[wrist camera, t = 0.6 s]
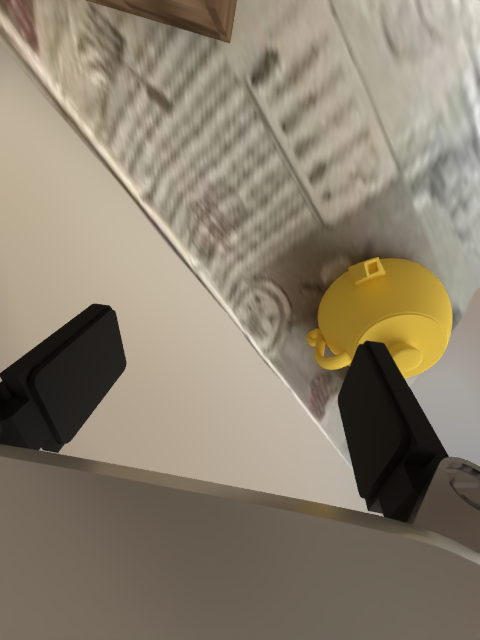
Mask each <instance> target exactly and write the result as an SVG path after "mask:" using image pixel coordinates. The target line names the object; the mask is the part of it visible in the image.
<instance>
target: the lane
mask: <svg viewBox="0 0 480 640" xmlns="http://www.w3.org/2000/svg"><path fill="white" fill-rule="evenodd" d="M87 1H91V2H94V3H97V4H101V5H104V6H107V7H111V8H114V9H117V10H121V11H124V12H127V13H131V14H134V15H137V16H141V17H144V18H147V19H151V20H154V21H157V22H161V23H164V24H168V25H171V26H174V27H178V28H181V29H184V30H188V31H191V32H194V33H198V34H201V35H204V36H208V37H211V38H214V39H218V40H221V41H224V42H228V43H230V40H231V33H232V27H233V21H234V14H235V8H236V2H237V0H87Z"/></svg>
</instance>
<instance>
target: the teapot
mask: <svg viewBox="0 0 480 640" xmlns="http://www.w3.org/2000/svg"><path fill="white" fill-rule="evenodd" d="M318 325H319V329H313V330H312V331H310V332H309V333H308V334H307V342H308V344H309V345H311V346H315V351H314V355H315V359H316V361H317V363H318V364H319V365H320V366H321V367H322V368H324V369H329V370H334V369H340V368H342V367H345V366H347V365H348V366H350V365H351V362H352V360H353V357H354V355H355V352H356V350H357V347H358V345H359V344H364V342H365V341H374V342H381V343H384V344H385V345H386V347H387V349H388V351H389V352H390V354H391V356H392V358H393V359H394V361H395V363H396V365H397V367H398V368H399V370H400V372H401V374H402V375H403V377H404V378H408V377H411V376H414V375H417V374H420V373H422V372H424V371H425V370H427V369H429V368H430V367H431V366H433V365H434V364H435V363H436V362H437V361H438V360H439V359H440V358H441V356H442V355H443V353H444V351H445V349H446V347H447V345H448V341H449V338H450V334H451V329H452V308H451V303H450V300H449V297H448V295H447V292H446V290H445V288H444V287H443V285H442V284H441V282H440V281H439V280H438V278H437V277H436V276H435V275H434V274H433V273H432V272H431V271H429V270H428V269H427V268H425V267H424V266H422V265H420V264H418V263H416V262H413V261H410V260H406V259H399V258H386V259H379V257H375V258H372V259H369V260H366V261H363V262H361V263H358V264H355V265H352V266H349V267H348V271H346V272H345V273H343V274H342V275H341V276H340V277H338V278H337V279H336V280H335V281H334V282H333V283H332V284H331V285H330V287H329V288H328V289H327V291H326V292H325V294H324V296H323V298H322V300H321V302H320V305H319V309H318ZM326 344H327V346H328V347H329V348H330V350H331V351H332V352H333V353H334V354H335V355H336V356H333V357H328V358H324V350H325V345H326Z"/></svg>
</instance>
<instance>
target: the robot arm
mask: <svg viewBox="0 0 480 640" xmlns="http://www.w3.org/2000/svg"><path fill="white" fill-rule="evenodd" d="M125 367H126V358H125V354H124V349H123V344H122V339H121V335H120V331H119V326H118V321H117V316H116V312H115V311H114V310H112V308H111V307H110V306H109V305H101V304H92V305H90V306H89V307H88V308H86V309H85V310H84V311H82V312H81V313H80V314H78V315H77V316H76V317H74V318H73V319H72V320H70V321H69V322H68V323H67V324H65V325H64V326H63V327H61V328H60V329H58V330H57V331H56V332H55V333H53V334H52V335H51V336H49V337H48V338H47V339H45V340H44V341H43V342H41V343H40V344H38V345H37V346H36V347H34V348H33V349H32V350H31V351H29V352H28V353H26V354H25V355H24V356H23V357H21V358H20V359H19V360H17V361H16V362H14V363H13V364H12V365H10V366H9V367H8V368H7V369H5V370H4V371H3V372H1V373H0V377H1V379H2V382H0V640H480V467H479V466H478V465H476V464H473V463H472V462H470V461H468V460H465V459H462V458H458V457H449V456H448V454H447V453H446V451H445V449H444V447H443V446H442V444H441V442H440V440H439V439H438V437H437V435H436V433H435V431H434V430H433V428H432V426H431V424H430V423H429V421H428V419H427V417H426V416H425V414H424V412H423V410H422V409H421V407H420V405H419V403H418V401H417V399H416V398H415V396H414V394H413V392H412V391H411V389H410V387H409V386H408V384H407V383H406V381H405V379H404V377H403V375H402V374H401V372H400V370H399V368H398V367H397V365H396V363H395V361H394V359H393V358H392V356H391V354H390V352H389V351H388V349H387V347H386V345H385V344H384V343H381V342H374V341H365V342H364V344H359V345H358V347H357V350H356V352H355V355H354V357H353V360H352V362H351V365H350V367H349V370H348V372H347V375H346V377H345V380H344V382H343V385H342V387H341V390H340V392H339V395H338V405H339V410H340V414H341V418H342V423H343V427H344V431H345V436H346V440H347V444H348V449H349V453H350V457H351V462H352V466H353V470H354V475H355V479H356V483H357V487H358V492H359V495H360V497H361V498H364V499H365V501H366V505H367V509H368V511H372V512H377V513H382V514H383V515H384V517H382V516H378V515H373V514H369V513H364V512H359V511H355V510H350V509H345V508H341V507H336V506H330V505H326V504H321V503H317V502H311V501H306V500H301V499H296V498H290V497H286V496H280V495H275V494H270V493H265V492H260V491H255V490H249V489H244V488H239V487H233V486H228V485H223V484H218V483H213V482H207V481H202V480H197V479H191V478H186V477H180V476H175V475H170V474H164V473H159V472H154V471H149V470H143V469H138V468H133V467H127V466H121V465H116V464H111V463H105V462H100V461H94V460H89V459H83V458H78V457H72V456H67V455H61V454H56V453H58V452H59V451H60V449H61V448H62V447H63V446H64V444H66V443H69V442H70V441H71V440H72V439H73V437H74V436H75V435H76V434H77V432H78V431H79V429H80V428H81V427H82V425H83V424H84V423H85V422H86V420H87V419H88V418H89V416H90V415H91V414H92V412H93V411H94V410H95V408H96V407H97V405H98V404H99V403H100V402H101V400H102V399H103V398H104V396H105V395H106V394H107V392H108V391H109V390H110V389H111V387H112V386H113V384H114V383H115V382H116V381H117V379H118V378H119V377H120V375H121V374H122V373H123V371H124V370H125ZM40 448H42V449H43V450H45V451H51V452H56V453H50V452H44V451H39V449H40Z"/></svg>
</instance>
